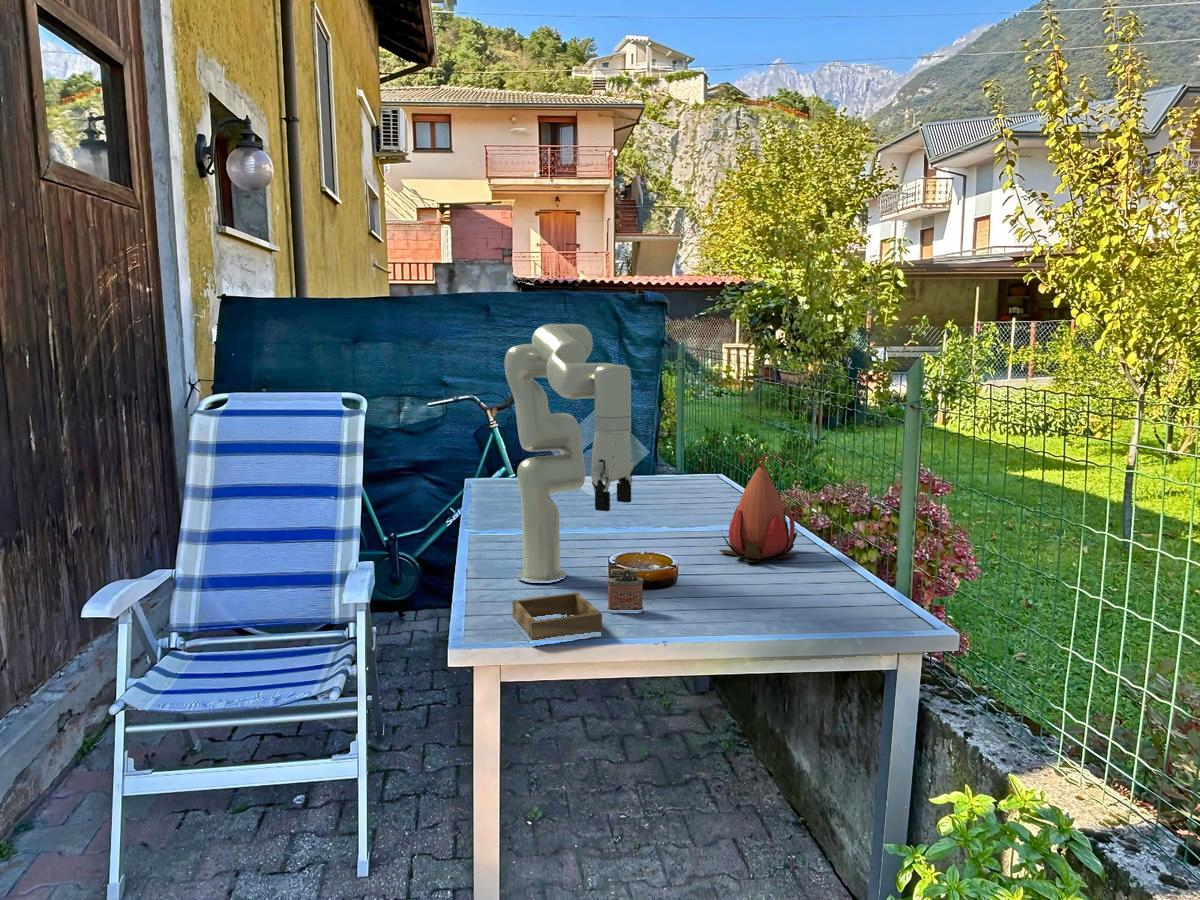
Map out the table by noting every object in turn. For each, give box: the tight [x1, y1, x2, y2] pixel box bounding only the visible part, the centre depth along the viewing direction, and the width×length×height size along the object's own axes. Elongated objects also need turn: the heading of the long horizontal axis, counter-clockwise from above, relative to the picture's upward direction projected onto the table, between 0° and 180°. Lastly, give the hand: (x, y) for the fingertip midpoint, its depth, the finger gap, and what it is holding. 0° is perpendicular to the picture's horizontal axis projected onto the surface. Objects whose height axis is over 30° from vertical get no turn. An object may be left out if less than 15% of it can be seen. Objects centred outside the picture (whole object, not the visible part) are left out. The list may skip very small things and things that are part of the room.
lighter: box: [606, 567, 644, 610], centre depth 180 cm, size 8×3×10 cm, turn 92°
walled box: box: [512, 592, 603, 640], centre depth 169 cm, size 15×15×5 cm
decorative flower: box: [718, 449, 798, 563], centre depth 223 cm, size 22×23×30 cm
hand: (613, 506), depth 167 cm, fingers open, 9 cm apart
